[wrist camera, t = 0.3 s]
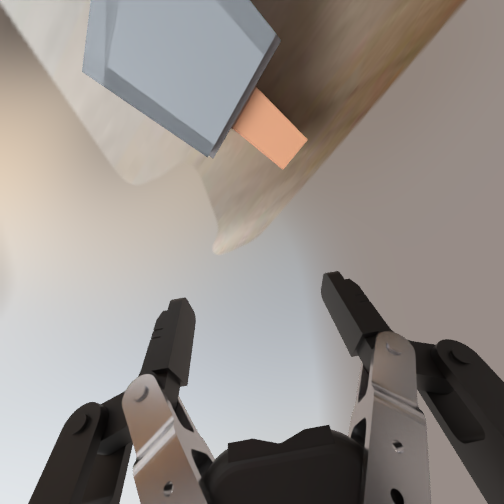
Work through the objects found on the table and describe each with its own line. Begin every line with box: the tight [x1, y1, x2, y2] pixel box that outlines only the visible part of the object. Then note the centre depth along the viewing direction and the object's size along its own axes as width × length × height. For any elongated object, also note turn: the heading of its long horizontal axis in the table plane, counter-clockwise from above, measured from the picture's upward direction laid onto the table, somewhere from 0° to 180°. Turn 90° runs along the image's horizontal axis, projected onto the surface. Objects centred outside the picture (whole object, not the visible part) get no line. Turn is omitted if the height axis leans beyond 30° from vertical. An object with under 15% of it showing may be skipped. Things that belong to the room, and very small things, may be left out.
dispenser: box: [82, 0, 281, 158], centre depth 15 cm, size 9×10×9 cm
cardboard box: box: [231, 85, 308, 169], centre depth 18 cm, size 4×15×6 cm, turn 53°
